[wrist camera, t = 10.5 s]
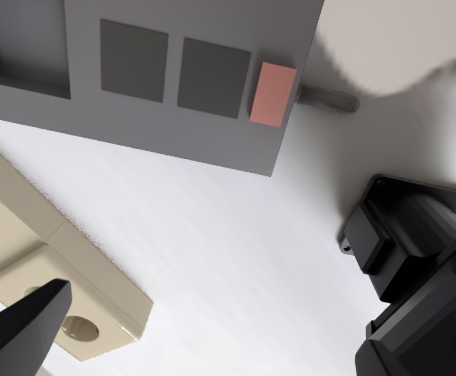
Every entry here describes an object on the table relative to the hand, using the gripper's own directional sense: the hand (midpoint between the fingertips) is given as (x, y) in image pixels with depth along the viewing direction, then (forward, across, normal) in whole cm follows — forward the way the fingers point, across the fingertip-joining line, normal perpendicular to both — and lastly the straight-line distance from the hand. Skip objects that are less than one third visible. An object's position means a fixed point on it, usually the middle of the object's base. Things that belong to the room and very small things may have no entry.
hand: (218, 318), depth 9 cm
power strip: (+12, +6, -5) cm, 14 cm away
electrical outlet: (+13, +13, +12) cm, 22 cm away
